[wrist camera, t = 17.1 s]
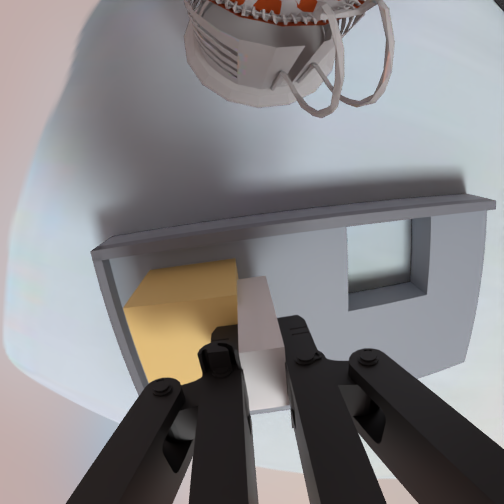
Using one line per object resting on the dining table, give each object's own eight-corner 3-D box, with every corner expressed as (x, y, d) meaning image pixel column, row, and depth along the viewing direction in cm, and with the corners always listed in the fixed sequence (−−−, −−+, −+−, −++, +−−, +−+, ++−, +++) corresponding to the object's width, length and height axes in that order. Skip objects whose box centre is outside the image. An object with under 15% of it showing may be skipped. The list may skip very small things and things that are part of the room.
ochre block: (149, 269, 18) (123, 308, 13) (235, 258, 18) (235, 294, 13) (169, 343, 19) (153, 394, 14) (247, 334, 19) (251, 386, 14)
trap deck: (111, 236, 19) (90, 251, 16) (466, 193, 20) (496, 200, 16) (161, 400, 23) (154, 429, 20) (450, 347, 24) (470, 367, 20)
